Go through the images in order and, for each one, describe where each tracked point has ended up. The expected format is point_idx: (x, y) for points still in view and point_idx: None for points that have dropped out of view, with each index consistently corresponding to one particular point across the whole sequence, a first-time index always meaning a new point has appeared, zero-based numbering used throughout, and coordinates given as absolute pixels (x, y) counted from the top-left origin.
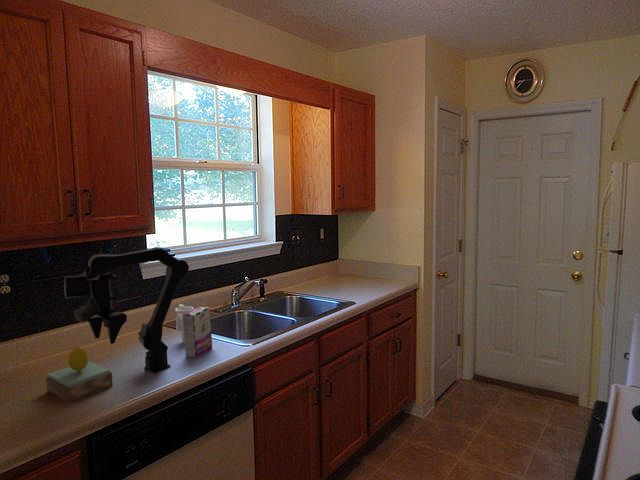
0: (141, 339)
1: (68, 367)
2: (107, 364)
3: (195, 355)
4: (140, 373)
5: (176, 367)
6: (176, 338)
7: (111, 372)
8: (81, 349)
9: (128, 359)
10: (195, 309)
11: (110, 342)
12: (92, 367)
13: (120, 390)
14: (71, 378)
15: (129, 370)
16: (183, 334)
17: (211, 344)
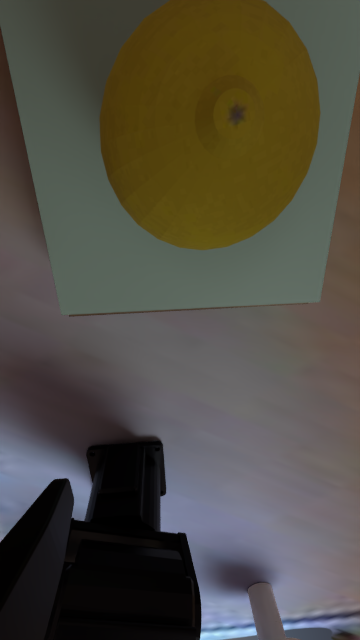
0: (123, 600)
1: (343, 153)
2: (336, 381)
3: None
4: (130, 415)
5: (80, 502)
6: (314, 586)
7: (69, 315)
8: (167, 166)
9: (302, 445)
10: None
11: (55, 490)
12: (191, 264)
13: (10, 289)
14: (101, 40)
15: (196, 404)
16: (267, 623)
17: None
